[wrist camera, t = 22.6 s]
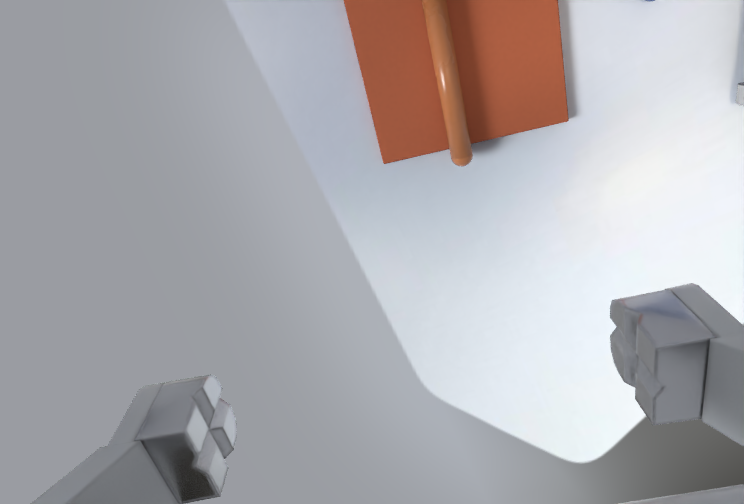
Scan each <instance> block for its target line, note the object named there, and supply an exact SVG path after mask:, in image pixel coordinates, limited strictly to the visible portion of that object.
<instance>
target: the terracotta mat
mask: <svg viewBox="0 0 744 504" xmlns="http://www.w3.org/2000/svg"><path fill="white" fill-rule="evenodd" d="M446 1H447V7H448V12H449V18H450V24H451V30H452V36H453V42H454V47H455V53H456V59H457V65H458V71H459V77H460V83H461V88H462V94H463V100H464V106H465V112H466V118H467V123H468V129H469V135H470V141H471V144H472V143H476V142H481V141H485V140H489V139H494V138H498V137H502V136H506V135H511V134H515V133H519V132H524V131H528V130H532V129H537V128H541V127H545V126H549V125H554V124H558V123H562V122H567V121H568V109H567V98H566V87H565V76H564V65H563V54H562V42H561V31H560V20H559V9H558V0H446ZM344 3H345V7H346V12H347V16H348V20H349V24H350V28H351V32H352V36H353V40H354V44H355V48H356V53H357V57H358V61H359V65H360V69H361V73H362V77H363V81H364V85H365V89H366V94H367V98H368V102H369V106H370V110H371V114H372V118H373V122H374V126H375V130H376V135H377V139H378V143H379V147H380V151H381V155H382V159H383V163H384V164H386V163H391V162H395V161H399V160H403V159H408V158H412V157H416V156H421V155H425V154H429V153H433V152H438V151H442V150H446V149H449V144H448V138H447V133H446V128H445V122H444V117H443V112H442V107H441V101H440V96H439V91H438V85H437V80H436V75H435V69H434V64H433V59H432V54H431V48H430V43H429V38H428V32H427V27H426V22H425V17H424V11H423V6H422V1H421V0H344Z"/></svg>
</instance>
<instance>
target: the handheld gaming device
mask: <svg viewBox="0 0 744 504" xmlns="http://www.w3.org/2000/svg"><path fill="white" fill-rule="evenodd" d="M736 103H737V104H740V105H743V106H744V82H743V83H739V84H738V88H737V96H736Z"/></svg>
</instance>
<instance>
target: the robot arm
mask: <svg viewBox="0 0 744 504" xmlns="http://www.w3.org/2000/svg"><path fill="white" fill-rule="evenodd" d="M610 318H611V319H612V321H613V322H614V324H615V325H616V326H617V327H616V329H615V330H614V331H613V333H612V334H611V335H610V341H611V352H612V356H613V360H614V364H615V366H616V368H617V370H618V372H619V374H620V376H621V377H622V379H623V381H624V382H625V383H627V384H629V385H631V386H633V387H635V388H636V389H635V399H636V401H637V402H638V404H639V405H640V407H641V408H642V410H643V411H644V413H645V414H646V416H647V417H648V419H649V420H650V422H651V423H652V425H658V424H666V423H673V422H680V421H687V420H695V419H702V421H703V422H704V423H706V424H708V425H709V426H711V427H712V428H714V429H716V430H718V431H719V432H721V433H722V434H724V435H726V436H727V437H729V438H730V439H732V440H734V441H735V442H737V443H739V444H740V445H742V446H744V326H743V325H742V324H741V323H740V322H739V321H738V320H737V319H735V318H734V317H733V316H732V315H731V314H730V313H729V312H728V311H727V310H725V309H724V308H723V307H722V306H721V305H720V304H719V303H718V302H716V301H715V300H714V299H713V298H712V297H711V296H710V295H709V294H707V293H706V292H705V291H704V290H703V289H702V288H701V287H700V286H698V285H696V284H693V283H691V284H686V285H682V286H677V287H672V288H667V289H665V290H662V291H657V292H652V293H646V294H641V295H636V296H631V297H625V298H620V299H615V300H612V302H611V306H610ZM221 392H222V387H221V385H220V383H219V381H218V379H217V377H215V376H213V375H206V376H200V377H194V378H187V379H181V380H175V381H169V382H166V383H158V384H153V385H147V386H144V387H142V388H141V389H139V391H138V393H137V394H136V396H135V398H134V399H133V401H132V403H131V405H130V407H129V409H128V410H127V412H126V414H125V416H124V417H123V419H122V421H121V423H120V425H119V426H118V428H117V430H116V432H115V434H114V435H113V437H112V439H111V441H110V442H109V444H108V446H105V447H100V448H99V449H98V450H97V451H95V452H94V453H93V454H92V455H90V456H89V457H88V458H87V459H85V460H84V461H83V462H82V463H80V464H79V465H78V466H77V467H76V468H74V469H73V470H72V471H71V472H69V473H68V474H67V475H66V476H65V477H63V478H62V479H61V480H59V481H58V482H57V483H56V484H55V485H54V486H52V487H51V488H50V489H49V490H47V491H46V492H45V493H44V494H42V495H41V496H40V497H39V498H37V499H36V500H35V501H34V502H32V503H31V504H183V503H189V502H194V501H199V500H204V499H210V498H215V497H220V496H221V492H222V489H223V485H224V482H225V478H226V475H227V471H228V466H227V464H226V462H225V460H224V459H225V458H226V457H227V456H228V455H229V454H230V453H231V452H232V451H233V450H234V446H235V442H236V420H235V416H234V412H233V410H232V408H231V406H230V404H228V403H227V402H225V401H224V400H222V399H220V395H221ZM619 504H744V484H743V485H736V486H730V487H723V488H716V489H710V490H704V491H698V492H690V493H684V494H677V495H671V496H664V497H658V498H651V499H645V500H638V501H632V502H625V503H619Z"/></svg>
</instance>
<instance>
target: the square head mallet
mask: <svg viewBox="0 0 744 504" xmlns="http://www.w3.org/2000/svg"><path fill="white" fill-rule="evenodd" d="M421 1H422V6H423V11H424V17H425V22H426V27H427V32H428V38H429V43H430V48H431V54H432V59H433V64H434V69H435V75H436V80H437V85H438V91H439V96H440V101H441V107H442V112H443V117H444V122H445V128H446V133H447V138H448V144H449V149H450V154H451V159H452V161H453V162H454V164H456V165H458V166H466V165H467V164H469V163H470V162H471V160H472V157H473V153H472V147H471V141H470V135H469V129H468V123H467V118H466V112H465V106H464V100H463V94H462V88H461V83H460V77H459V71H458V65H457V59H456V53H455V47H454V42H453V36H452V30H451V24H450V18H449V12H448V7H447V1H446V0H421Z"/></svg>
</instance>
